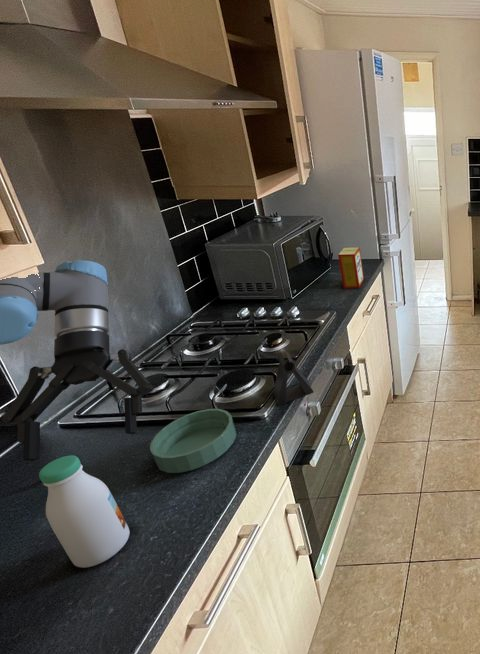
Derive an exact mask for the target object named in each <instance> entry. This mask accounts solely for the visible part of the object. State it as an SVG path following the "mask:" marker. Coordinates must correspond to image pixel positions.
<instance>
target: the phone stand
mask: <svg viewBox="0 0 480 654" xmlns="http://www.w3.org/2000/svg"><path fill="white" fill-rule="evenodd" d="M284 355H285V356H286V359H285V358H284V356H283V354H282V352H279V354H278V356H277V360H278V368H277V373H276V379H275V384H274V389H273V395H274V398H275V401H276V404H277V406H281V405H284V404H287V403H290V402H292V401H295V400H296V399H301V398H304V397H306V396H309V395H311V394H314V390H313V387H312V386H311V384H310V381H309V380H308V379H307V377H306V376H305V375H304V373H302V371H301V370H300V369H299V367H297V366H296V364H295V361H294V360H293V358H292V356H291V354H290V352H289V351H284ZM289 374H293V375H294V377H295V378H296V380H297V382H298V384H296V385H293V386H290V387H287V385H288V375H289Z"/></svg>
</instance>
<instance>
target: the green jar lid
mask: <svg viewBox="0 0 480 654" xmlns="http://www.w3.org/2000/svg"><path fill="white" fill-rule="evenodd" d="M236 429H237V428H236V426H235V422H234V419H233V416H232V414H231V413H230V412H229V411H227V410H225V409H221V408H206V409H201V410H197V411H194V412H191V413H188V414H185V415H183V416H181V417H179V418H176V419H175V420H173V421H172V422H170V423H168V424H167V425H165V426H164V427H162V428H161V430H159V431H158V432H157V433H156V434H155V435H154V436H153V439H152V440H151V441H150V445H149V451H150V454H151V456H152V458H153V461H154V463H155V465H156V467H157V468H158V470H160V471H162V472H164V473H167V474H182V473H185V472H190V471H194V470H196V469H199V468H201V467H204V466H206V465H208V464H209V463H211V462H213V461H215V460H217V459H218V458H220V457H221V456H222V455H224V454H225V453H226V452H228V450H229V449H230V448H231V447H232V445H233V444H234V442H235V441H236V438H237V430H236Z"/></svg>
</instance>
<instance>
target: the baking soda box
mask: <svg viewBox="0 0 480 654" xmlns="http://www.w3.org/2000/svg"><path fill="white" fill-rule="evenodd" d="M337 256H338V262H339V267H340V275H341V280H342V287H343V289H345V290H346V289H360V287H361V286H362V284H363V282H364V280H365V276H364V268H363V262H362V255H361V248H360V246H352V247H348V246H347V247H343V248H342V250H341V251H340V252H339V253H338V255H337Z"/></svg>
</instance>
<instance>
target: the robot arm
mask: <svg viewBox="0 0 480 654" xmlns="http://www.w3.org/2000/svg"><path fill="white" fill-rule="evenodd" d="M37 272H38V271H37ZM38 274H39V276H38V275H37V274H36V275H35V274H31V275H28V277H26V278H18V277H11V278H6V279H2V280H0V345H6V344H8V345H9V344H12V343H15V342H17V341H20V340H22V339H23V338H25V337H27V336H28V335H29V334H31V332H32V331H33V330H34V328H35V326H36V324H37V321H38V318H39V312H48V311H54V330H53V331H54V332H53V335H54V337H55V339H54V341H53V343H54V344H53V345H54V347H53V358H54V362H53V364H52V366H51V365H50V366H44V367H39V366H32V367H31V368H30V369H29V372H28V377H27V379H26V381H25V383H24V385H23V386H22V388H21V389H20V391H19V392H18V394H17V395H16V397H15V399H14V400H13V402H12V403H11V404H10V406H9V407H8V409H7V411H6V412H5V414H4V416H2V418H1V422H2V423H4V424H12V425H17V433H16V434H17V435H16V441H17V442H18V443H19V444H20V443H21V444H23V453H22V454H23V455H22V456H23V458H22V461H31V462H34V461H37V460H40V448H41V447H40V445H41V442H40V441H41V421H36V420H37V419H38V418H39V417H40V416H41V415H42V414H43V413H44V412H45V410H46V409H47V408H49V406H50V405H51V404H52V403H53V402H54V401H55V400H56V399H57V397H59V395H61V393H62V392H64V391H66V390H67V389H68V388H69V387H70V386H71V385H74V386H78V385H81V384H83V383H87V382H95V381H97V380H98V379H99V378H102V379H104V381H106V382H108V383H110V384H112V385H113V386H114V387H116V388H118V389H119V390H121V391H123V393H125V394H127V395H128V396H130V397H124V398H123V403H124V404H123V405H124V406H123V407H124V429H125V431H124V432H125V434H127V435H134V434H137V433H138V425H137V424H138V423H137V415H140V414H142V412H143V401H142V398H143V396H144V395H146V394H148V393H151V392H153V391H154V389H155V388H154V386H153V385H152V383H151V382H150V381H149V380H148V379H147V378H146V377H145V375H144V373H142V372H141V370H140V369H139V368H138V367H137V365H136V364H135V363H134V362H133V360H132V354H131V352H129V351H127V350H126V349H119V350H118V351H117V352H114V353H110V352H111V351H110V349H111V348H110V335H109V334H108V333H109V332H110V316H109V315H110V313H109V282H108V274H107V269H106V268H105V266H104V265H102V264H101V263H98V262H96V261H91V260H83V259H81V260H80V259H76V260H74V261H71V260H69V261H64V262H62V263H59V264H58V265H57V266H56V267H55V270H54V271H49V272H40V271H39V272H38ZM39 277H40V278H39ZM39 287H40V289H39ZM34 290H36V291H34ZM31 292H32V293H31ZM113 361H115V363H118V364H119V365H121V366H122V367H123V369H124V370H125V371H126V373H128V375H129V376H130V377H131V379H132V380H133V381H134V382H135V384H136V385H137V386H138V387H137V388H135V387H134V386H132V385H131V384H129V383H127V382H126V381H125V380H123V379H121V378H120V377H118V376H117V375H116V374H114V373H112V372H111V371H110V370H108V368H109V367H110V365H111V364H112V363H113ZM51 374H53V375H55V376H54V377H53V378H51V380H50V381H49V383H48V385H47V387H46V388H45V389H44V390H42V392H41V393H40V394H39V392H40V391H41V389H42V387H43V386H44V384H45V382H46V380H47V379H49V378H50V375H51ZM38 394H39V395H38Z"/></svg>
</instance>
